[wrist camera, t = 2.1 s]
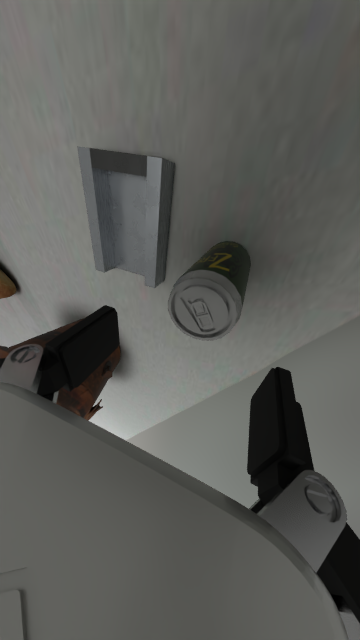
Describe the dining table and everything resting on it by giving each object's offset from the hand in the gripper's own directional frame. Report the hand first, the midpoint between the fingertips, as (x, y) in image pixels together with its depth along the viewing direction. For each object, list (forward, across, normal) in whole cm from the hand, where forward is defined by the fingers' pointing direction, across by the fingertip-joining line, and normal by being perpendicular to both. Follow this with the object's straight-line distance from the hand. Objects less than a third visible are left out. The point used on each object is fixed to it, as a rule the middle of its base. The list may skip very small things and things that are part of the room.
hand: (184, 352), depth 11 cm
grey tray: (+15, +13, -3) cm, 20 cm away
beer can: (+15, 0, -1) cm, 15 cm away
